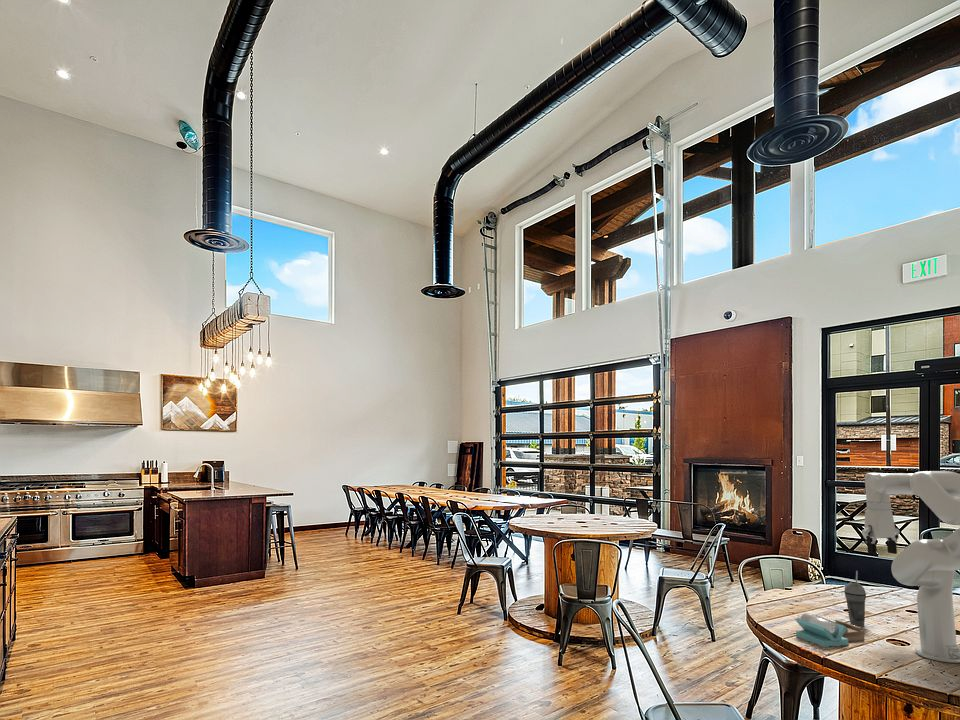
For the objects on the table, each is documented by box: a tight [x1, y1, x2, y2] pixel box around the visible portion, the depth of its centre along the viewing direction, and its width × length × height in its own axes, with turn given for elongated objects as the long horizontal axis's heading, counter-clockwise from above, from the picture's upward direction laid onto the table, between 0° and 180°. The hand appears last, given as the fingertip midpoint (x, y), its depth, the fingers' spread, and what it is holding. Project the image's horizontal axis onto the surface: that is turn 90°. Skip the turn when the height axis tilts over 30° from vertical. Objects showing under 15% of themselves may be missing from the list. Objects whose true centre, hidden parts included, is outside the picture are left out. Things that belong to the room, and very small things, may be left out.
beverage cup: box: [843, 570, 867, 627], centre depth 228 cm, size 7×7×20 cm
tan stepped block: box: [834, 619, 865, 643], centre depth 213 cm, size 10×9×4 cm
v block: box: [795, 616, 850, 648], centre depth 208 cm, size 12×10×6 cm
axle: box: [800, 613, 839, 637], centre depth 209 cm, size 12×4×4 cm, turn 16°
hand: (882, 553), depth 220 cm, fingers open, 9 cm apart
